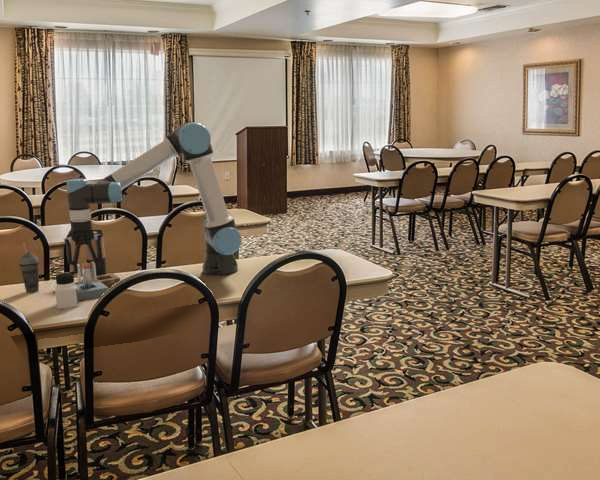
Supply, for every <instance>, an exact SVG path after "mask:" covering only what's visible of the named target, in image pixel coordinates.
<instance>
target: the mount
mask: <svg viewBox="0 0 600 480" xmlns="http://www.w3.org/2000/svg"><path fill="white" fill-rule="evenodd" d="M96 277H97V279H96V280H95V279H93V282H98V281H99V282H101V283H103V284H104V285H105V286H107V287H108V288H112V287H111V286H112V285H114V284H115V283H117V282H119V281H120V282H121V278H120V277H119V276H117V275H116V274H114V273H108V274H107V273H106V275H100V276H96Z"/></svg>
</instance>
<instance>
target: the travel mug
mask: <svg viewBox="0 0 600 480" xmlns="http://www.w3.org/2000/svg"><path fill="white" fill-rule="evenodd" d="M92 231H93V232H94V234H100V235H101V240H100V243H101V251H102V260H99V261H98V270H96V276H100V275H106V274H107V264H106V263H107V262H106V251H105V243H104V233H103V230H102V229H101V230H100V229H92ZM91 244H92V247H93V249H94V252H95V254H96V257H97V249H96V239H94V237H93V238H92V240H91ZM84 248H85V257H86V258H85V259H86V263H91V262H93V259H92V256H91V254H90V251H89V249H88V246H87V245H86V244H84ZM92 275H93V274H92Z"/></svg>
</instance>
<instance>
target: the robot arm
mask: <svg viewBox="0 0 600 480" xmlns="http://www.w3.org/2000/svg"><path fill="white" fill-rule="evenodd" d="M210 133H211V132H210V131H209V129H208V128H207V127H206V126H205V125H203V124H202V123H200V122H198V121H197V122H196V121H195V122H194V121H192V122H185V123H182V124H180V125H179V126H177V127H176V129H174V130H173V131H172V132H170V133H169V134H167V135H165V136H164V139H163V140H162V141H161V142H160V143H158V144H156V145H155V146H153V147H151V148H150V149H149V150H147V151H145V152H143V153H141V155H139V156H137V157H136V158H134V159H132V160H131V161H129V162H128V163H126V164H125V165H123V166H121V167H120V168H118V169H116V170H115V171H113V172H111V174H109V175H107V176H106V177H104V178H101V179H99V180H98V181H96V183H89V182H88V179H86V178H72V179H69V180H67V182H66V194H67V195H66V197H67V202H68V210H69V219H70V229H71V230H70V231H71V232H70V233H71V234H70V236H68V237H64V238H63V242H64V244H65V249H66V250H65V251H66V259H67V264H68V265H71V266H73V274H74V275H75V274H76V278H77V282H78V283H82V276H81V275H82V273H81V265H80V264H79V257H80V250H81V246H85V244H86V245H87V246H88V249H89V251H90V254H91V256H92V259H93V262H91V263H92V274H93V279H95V280H96V279H97V277H96V270H98V261H99V260H102V251H101V243H100V240H101V235H100V234H94V232H93V231H92V230H93V221H92V214H91V205H94V204H108V203H117V202H121V201H122V200H123V193H122V190H124V189H125V188H127V187H129V186H130V185H132V184H133V183H135V182H137V181H139V180H140V179H142V178H143V177H144V176H146V175H148V174H149V173H151V172H152V171H154V170H156V169H157V168H159V167H161V166H162V165H164V164H165V163H167V162H169V160H171V159H173V158H180V157H181V156H182V157H183V159H184V162H186V163H188V164H189V167H190V168H191V172H192V174H193V175H192V176H193V178H194V181H195V184H196V188H197V190H198V193H199V197H200V200H201V204H202V206H203V210H204V213H205V215H206V219H205V220H204V221H203V234H204V246H205V247H204V250H205V255H204V258H203V259H204V260H203V264H202V273H203V274H206V275H210V276H211V275H212V276H214V275H215V276H216V275H217V276H222V275H230V274H233V273H236V272H237V271H238V270H239V264H238V262H237V260H236V256H235V255H234V254H235V253H236V252H237V251H238V250H240V247H241V246H242V241H243V238H242V235H241V233H240V231H239V230H238V227H237V226H236V225H237V224H236V223H235V219H234V217H233V216H232V215H230V214H229V212H228V209H227V205H226V202H225V199H224V196H223V192H222V190H221V187H220V182H219V179H218V176H217V172H216V169H215V167H214V166H215V165H214V163H213V160H212V156H213V154H214V150H213V147H212V143H211V142H212V138H211V134H210ZM93 237H94V239H96V249H97V257H96V254H95V252H94V249H93V247H92V244H91V240H92V238H93ZM72 241H73V242H74V251H73V252H74V253H72V245H71V243H72ZM72 254H73V256H72Z"/></svg>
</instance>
